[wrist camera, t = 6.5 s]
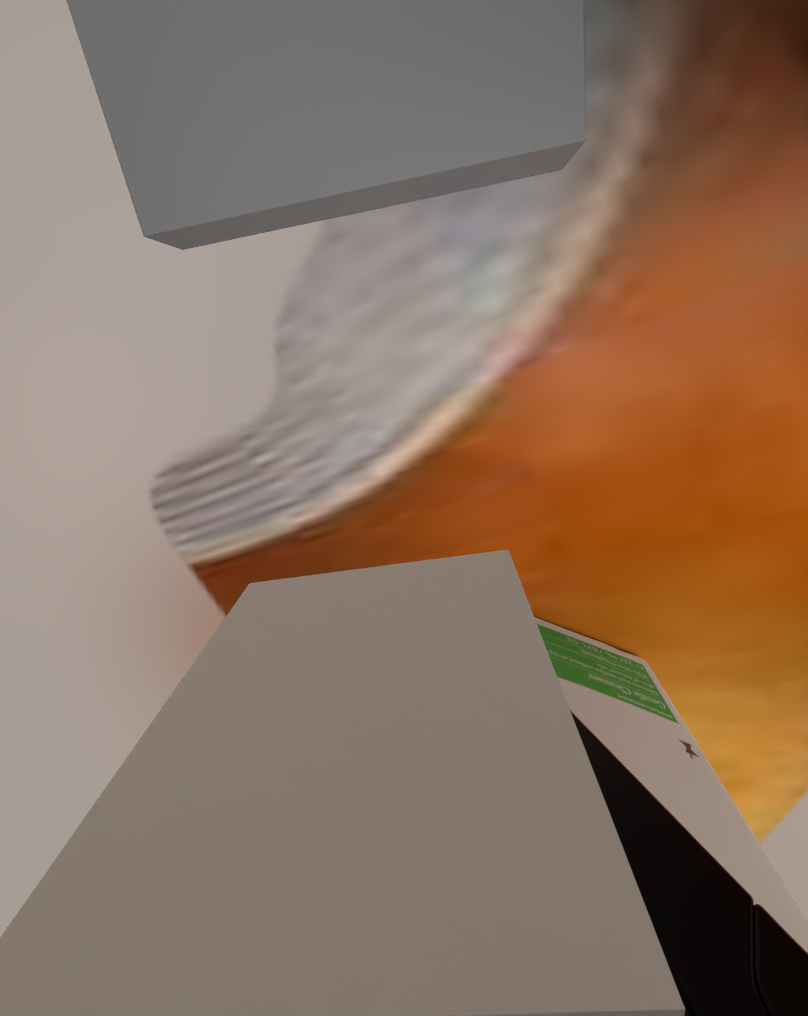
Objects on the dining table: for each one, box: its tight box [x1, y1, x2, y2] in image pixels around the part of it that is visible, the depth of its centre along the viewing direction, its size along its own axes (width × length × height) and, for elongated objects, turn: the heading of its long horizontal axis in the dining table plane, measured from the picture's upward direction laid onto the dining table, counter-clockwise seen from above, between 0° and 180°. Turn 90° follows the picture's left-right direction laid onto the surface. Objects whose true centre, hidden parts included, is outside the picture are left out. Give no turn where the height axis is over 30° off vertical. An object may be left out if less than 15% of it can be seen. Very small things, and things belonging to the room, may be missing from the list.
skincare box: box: [534, 617, 808, 953], centre depth 16 cm, size 8×7×16 cm
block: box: [0, 550, 685, 1016], centre depth 7 cm, size 5×5×6 cm
